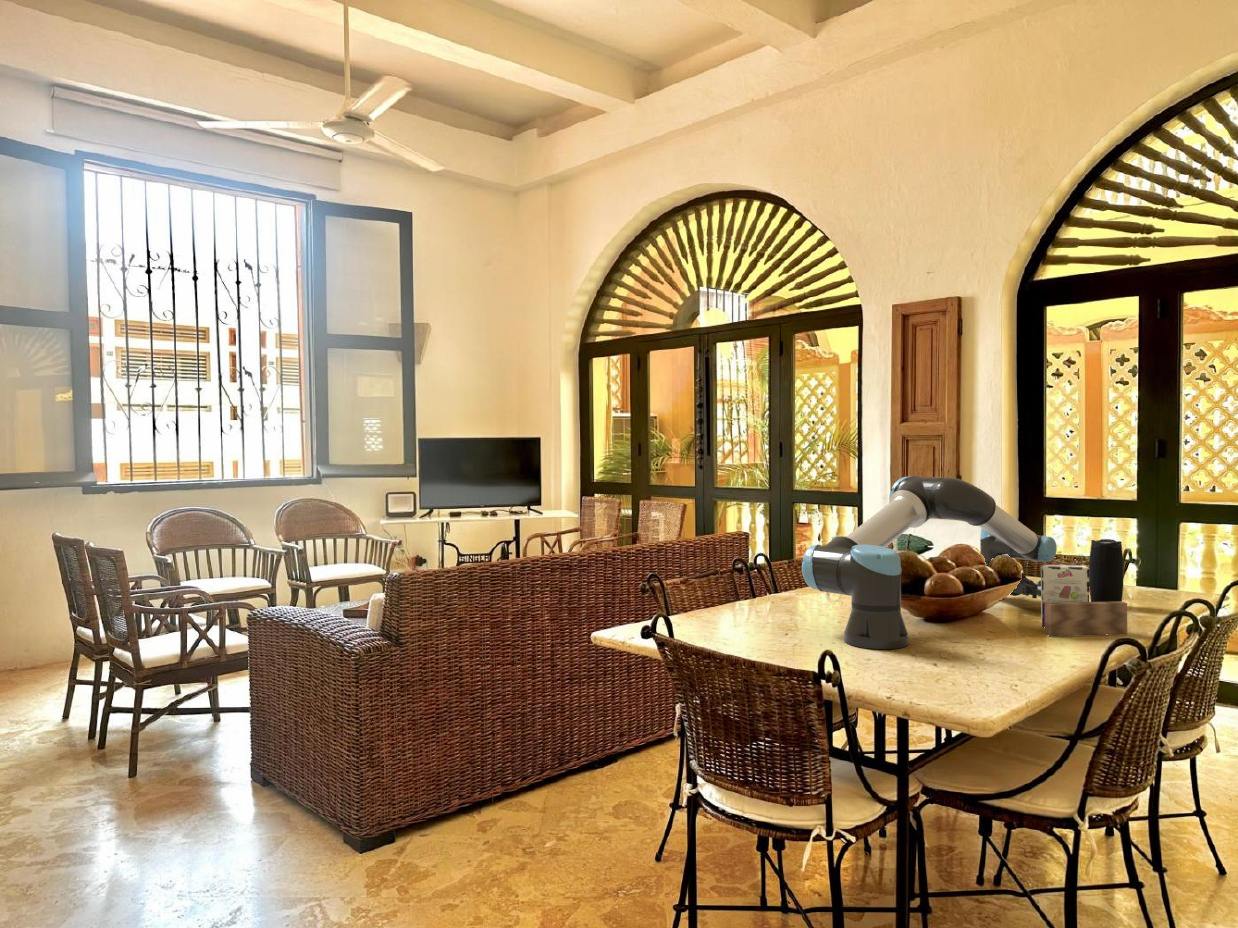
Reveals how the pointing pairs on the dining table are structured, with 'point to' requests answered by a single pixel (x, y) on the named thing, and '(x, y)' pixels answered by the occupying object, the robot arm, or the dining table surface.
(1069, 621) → the walnut board
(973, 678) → the dining table surface
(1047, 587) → the candy bar box
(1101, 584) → the portable speaker
